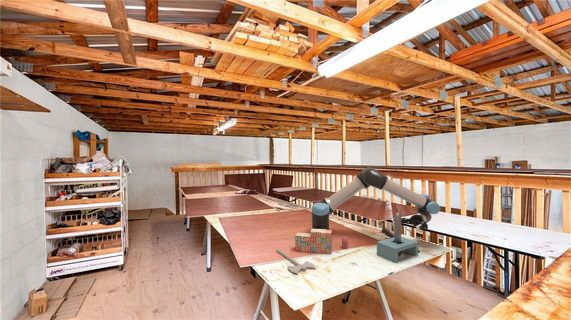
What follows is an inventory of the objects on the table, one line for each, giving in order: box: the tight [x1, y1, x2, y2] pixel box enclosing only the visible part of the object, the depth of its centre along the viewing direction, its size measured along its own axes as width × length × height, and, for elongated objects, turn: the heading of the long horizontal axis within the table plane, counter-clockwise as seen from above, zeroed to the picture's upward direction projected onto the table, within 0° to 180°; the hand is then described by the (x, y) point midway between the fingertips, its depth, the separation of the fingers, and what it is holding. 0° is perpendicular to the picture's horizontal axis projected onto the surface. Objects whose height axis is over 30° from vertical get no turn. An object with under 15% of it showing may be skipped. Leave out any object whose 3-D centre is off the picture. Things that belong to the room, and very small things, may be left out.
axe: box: [275, 248, 316, 274], centre depth 130 cm, size 30×14×2 cm, turn 30°
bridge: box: [376, 236, 419, 263], centre depth 137 cm, size 20×12×8 cm, turn 120°
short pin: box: [341, 235, 349, 249], centre depth 149 cm, size 4×4×6 cm
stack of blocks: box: [294, 228, 333, 255], centre depth 144 cm, size 21×6×12 cm, turn 79°
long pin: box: [393, 212, 402, 257], centre depth 137 cm, size 4×4×24 cm
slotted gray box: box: [380, 227, 421, 254], centre depth 161 cm, size 40×2×5 cm, turn 9°
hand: (404, 226), depth 143 cm, fingers open, 13 cm apart
